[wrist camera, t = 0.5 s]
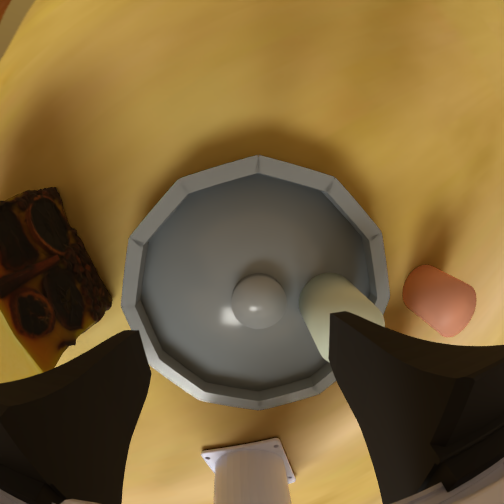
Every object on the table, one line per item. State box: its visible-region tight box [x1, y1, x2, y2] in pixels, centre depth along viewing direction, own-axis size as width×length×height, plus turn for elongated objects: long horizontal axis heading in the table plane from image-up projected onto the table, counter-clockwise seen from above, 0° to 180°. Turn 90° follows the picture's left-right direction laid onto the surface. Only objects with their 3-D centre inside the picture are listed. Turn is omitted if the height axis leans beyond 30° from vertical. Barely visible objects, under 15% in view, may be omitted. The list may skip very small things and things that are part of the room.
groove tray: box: [121, 155, 390, 410], centre depth 19 cm, size 18×18×2 cm
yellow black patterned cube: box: [0, 187, 112, 383], centre depth 14 cm, size 10×10×10 cm
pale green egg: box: [299, 273, 385, 362], centre depth 17 cm, size 4×4×5 cm
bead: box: [403, 265, 476, 337], centre depth 19 cm, size 4×4×5 cm
